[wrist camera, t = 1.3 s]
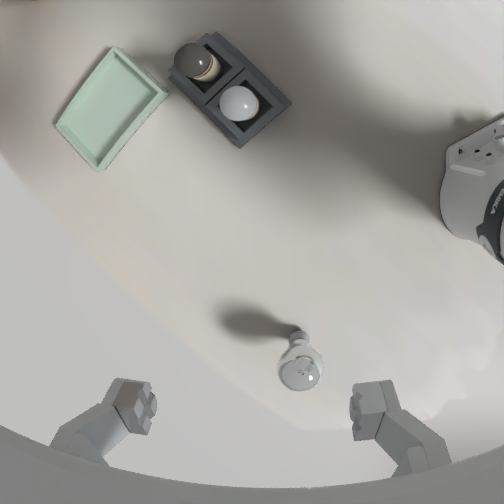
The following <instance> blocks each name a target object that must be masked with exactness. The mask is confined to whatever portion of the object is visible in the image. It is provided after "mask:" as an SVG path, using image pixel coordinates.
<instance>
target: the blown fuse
mask: <svg viewBox="0 0 504 504" xmlns="http://www.w3.org/2000/svg"><path fill="white" fill-rule="evenodd" d="M174 64H175V67H176V69H177V70H178V72H180V73H181V74H183V75H186V76H188V77H191V78H194V79H196V80H199V81H201V82H203V83H207V84H210V83H214V82H216V81H218V80H219V79H220V78H221V76H222V74H223V66H222V64H221V62H220V61H218V60H217V59H216V58H215V57H214V56H213V55H212V54H211V53H210V52H209V51H208V50H207V49H206V48H204V47H203V46H202V45H200V44H196V43H191V44H187V45H184V46H183V47H181V48H180V49H179V50H178V51H177V53H176V55H175V58H174Z"/></svg>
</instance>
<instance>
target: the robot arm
mask: <svg viewBox="0 0 504 504" xmlns="http://www.w3.org/2000/svg"><path fill="white" fill-rule="evenodd" d="M459 149H460V150H461V152H460V154H459V152H458V151H459ZM440 209H441V214H442V217H443V220H444V222H445V224H446V226H447V228H448V229H449V230H450V231H451V232H452V233H453V234H454V235H455V236H457V237H459V238H461V239H464V240H470V241H473V242H475V243H477V244H479V245H481V246H483V248H484V249H485V250H486V251H487V252H488V253H489V254H490V255H491V256H492V257H493V258H494V259H497V260H498V261H499V262H500V263H502V264H503V265H504V117H503V118H501V119H499V120H497V121H495V122H493V123H492V124H490V125H488V126H486V127H484V128H482V129H481V130H479V131H477V132H475V133H473V134H471V135H470V136H468V137H466V138H464V139H462V140H460V141H459V142H457V143H455V144H453V145H451V146H450V147H448V149H447V151H446V172H445V176H444V179H443V182H442V186H441V191H440ZM151 389H152V387H151V385H150V383H149V382H143V381H136V380H129V379H123V378H116V379H114V381H113V383H112V384H111V386H110V388H109V390H108V392H107V394H106V395H105V397H104V399H103V401H102V403H101V404H96V405H95V406H93V407H92V408H90V409H89V410H87V411H85V412H84V413H82V414H80V415H79V416H77V417H76V418H74V419H72V420H71V421H69V422H67V423H66V424H64V425H62V426H61V427H60V428H59V430H58V432H57V433H56V435H55V437H54V438H53V440H52V442H51V444H50V446H46V445H44V444H41V443H39V442H36V441H34V440H31V439H29V438H27V437H24V436H22V435H20V434H18V433H16V432H13V431H11V430H9V429H7V428H5V427H3V426H1V425H0V504H504V445H502V446H500V447H498V448H495V449H492V450H490V451H487V452H484V453H482V454H479V455H476V456H473V457H470V458H467V459H464V460H461V461H458V462H454V463H452V461H451V458H450V455H449V452H448V449H447V446H446V443H445V440H444V439H443V438H442V437H441V436H439V435H438V434H437V433H435V432H434V431H433V430H431V429H430V428H429V427H427V426H426V425H425V424H423V423H422V422H421V421H419V420H418V419H417V418H416V417H414V416H413V415H412V414H410V413H409V412H408V411H406V410H402V409H401V406H400V403H399V400H398V397H397V394H396V391H395V388H394V385H393V382H392V381H391V380H384V381H374V382H366V383H357V384H354V385H353V389H352V392H353V396H352V397H351V399H350V418H351V420H352V421H353V426H352V431H353V437H354V441H361V440H370V439H375V441H376V442H377V443H378V444H379V445H380V446H381V447H382V448H383V449H384V450H385V452H387V454H388V455H389V456H390V457H391V458H392V459H393V460H394V461H395V462H396V463H397V464H398V465H399V466H398V467H397V469H396V471H395V472H394V474H393V475H392V477H391V478H388V479H383V480H376V481H370V482H362V483H354V484H346V485H336V486H324V487H308V488H245V487H229V486H216V485H206V484H198V483H190V482H183V481H176V480H170V479H164V478H159V477H153V476H148V475H143V474H139V473H134V472H130V471H125V470H121V469H118V468H114V467H110V466H109V465H108V463H107V462H106V461H105V460H104V459H103V456H104V455H106V454H107V453H108V452H109V451H110V450H111V449H112V448H114V447H115V446H116V445H117V444H118V443H120V442H121V441H122V440H123V439H124V438H125V437H126V436H127V435H129V434H130V433H136V434H142V435H148V432H149V429H150V427H151V424H152V423H151V421H150V419H151V418H152V417H153V416H155V413H156V410H157V400H156V397H155V395H154V394H153V393H152V392H150V391H151Z"/></svg>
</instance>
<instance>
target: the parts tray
mask: <svg viewBox="0 0 504 504" xmlns="http://www.w3.org/2000/svg"><path fill="white" fill-rule="evenodd" d="M169 94H170V93H169V92H168V91H167V90H166V89H165V88H164V87H163V86H162V85H160V84H159V83H158V82H157V81H156V80H155V79H154V78H153V77H152V76H151V75H150V74H149V73H148V72H147V71H146V70H144V69H143V68H142V67H141V66H140V65H139V64H138V63H137V62H136V61H135V60H134V59H132V58H131V57H130V56H129V55H128V54H127V53H126V52H125V51H124V50H123V49H121V48H118V47H115V46H113V48H112V49H111V50H110V51H109V52H108V53H107V55H106V56H105V57H104V58H103V60H102V61H101V62H100V63H99V64H98V66H97V67H96V68H95V70H94V71H93V72H92V73H91V75H90V76H89V77H88V79H87V80H86V81H85V83H84V84H83V85H82V87H81V88H80V89H79V91H78V92H77V94H76V95H75V96H74V98H73V99H72V101H71V102H70V104H69V105H68V107H67V108H66V110H65V111H64V113H63V114H62V116H61V117H60V119H59V120H58V122H57V123H56V125H55V127H56V128H57V129H58V130H59V131H60V132H61V133H62V135H63V136H64V137H65V138H66V139H67V140H68V141H69V142H70V143H71V145H72V146H73V147H74V148H75V149H76V150H77V151H78V152H79V153H80V154H81V155H82V157H83V158H84V159H85V160H86V161H87V162H88V163H89V164H90V165H91V166H92V167H93V168H94V169H95V171H96V172H97V173H98V172H100V171H103V170H106V168H107V167H108V166H109V164H110V163H111V162H112V161H113V159H114V158H115V157H116V155H117V154H118V153H119V152H120V150H121V149H122V148H123V147H124V145H125V144H126V143H127V142H128V140H129V139H130V138H131V137H132V136H133V134H134V133H135V132H136V131H137V130H138V128H139V127H140V126H141V125H142V124H143V123H144V121H145V120H146V119H147V118H148V117H149V116H150V115H151V114H152V112H153V111H154V110H155V109H156V108H157V107H158V106H159V105H160V104H161V102H162V101H163V100H164V99H165V98H166V97H167V96H168V95H169Z"/></svg>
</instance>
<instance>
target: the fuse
mask: <svg viewBox="0 0 504 504" xmlns="http://www.w3.org/2000/svg"><path fill="white" fill-rule="evenodd" d="M219 104H220V109H221V112H222V113H223V115H224V116H225V117H227V118H228V119H230V120H233V121H243V120H251V119H253V118H255V117H256V116H257V115H258V114H259V112H260V109H261V104H260V101H259V99H258V98H257V97H256V96H255V95H254V94H253V93H252V92H251V91H250V90H249V89H247V88H245V87H242V86H234V87H231V88H229V89H227V90H226V91H225V92H224V93H223V94H222V96H221V98H220V103H219Z"/></svg>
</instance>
